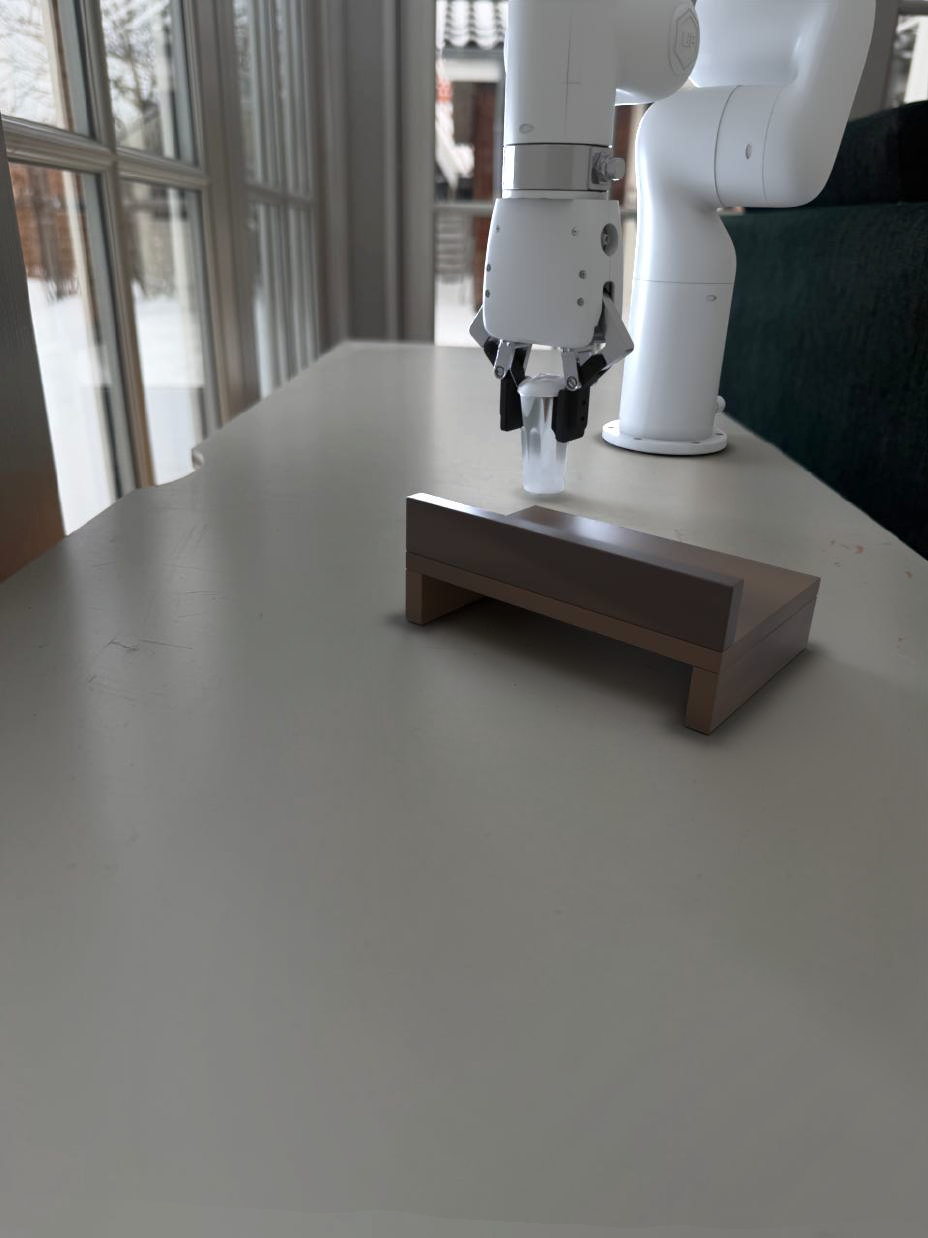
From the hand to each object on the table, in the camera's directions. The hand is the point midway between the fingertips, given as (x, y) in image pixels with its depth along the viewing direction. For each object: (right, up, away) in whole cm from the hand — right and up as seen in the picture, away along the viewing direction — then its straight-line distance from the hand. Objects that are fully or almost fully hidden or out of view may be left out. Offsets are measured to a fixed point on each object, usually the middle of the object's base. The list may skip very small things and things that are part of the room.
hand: (541, 431), depth 70 cm
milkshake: (0, -5, +2) cm, 5 cm away
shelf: (+1, -16, -22) cm, 27 cm away
